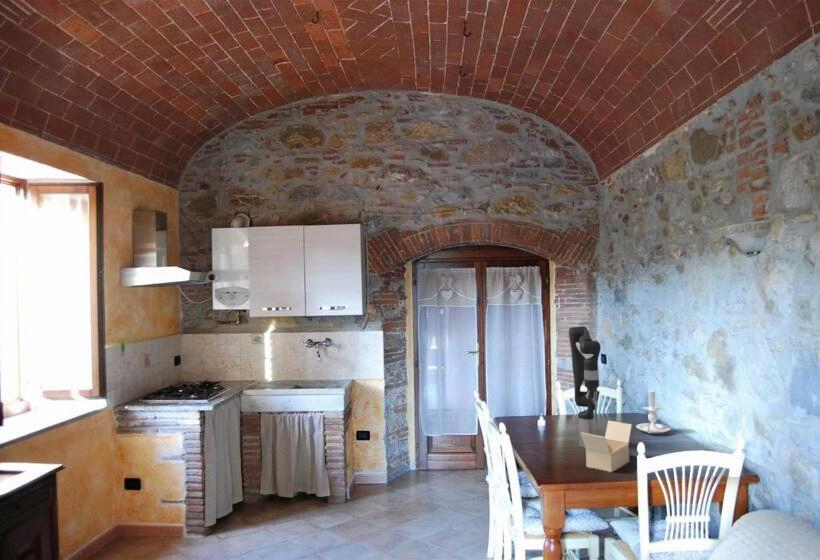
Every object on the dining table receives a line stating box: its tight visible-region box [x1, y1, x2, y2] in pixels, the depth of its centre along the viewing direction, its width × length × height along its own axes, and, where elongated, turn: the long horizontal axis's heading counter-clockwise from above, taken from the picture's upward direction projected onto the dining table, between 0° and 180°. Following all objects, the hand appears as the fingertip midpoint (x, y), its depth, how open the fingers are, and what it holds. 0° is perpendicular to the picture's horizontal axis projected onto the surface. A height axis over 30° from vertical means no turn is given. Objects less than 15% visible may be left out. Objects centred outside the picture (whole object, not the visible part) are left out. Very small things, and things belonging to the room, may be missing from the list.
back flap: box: [604, 420, 633, 445], centre depth 297 cm, size 11×14×1 cm
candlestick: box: [635, 389, 671, 435], centre depth 343 cm, size 21×25×28 cm
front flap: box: [581, 433, 610, 454], centre depth 278 cm, size 11×14×1 cm
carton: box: [585, 439, 630, 474], centre depth 287 cm, size 22×14×10 cm, turn 134°
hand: (592, 410), depth 282 cm, fingers closed
